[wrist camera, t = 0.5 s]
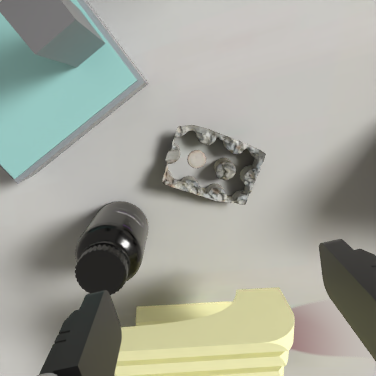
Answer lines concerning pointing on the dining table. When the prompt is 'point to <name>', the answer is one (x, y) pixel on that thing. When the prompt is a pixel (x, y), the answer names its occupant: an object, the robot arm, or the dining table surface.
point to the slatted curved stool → (210, 337)
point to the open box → (101, 114)
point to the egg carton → (221, 166)
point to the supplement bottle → (111, 248)
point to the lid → (51, 77)
